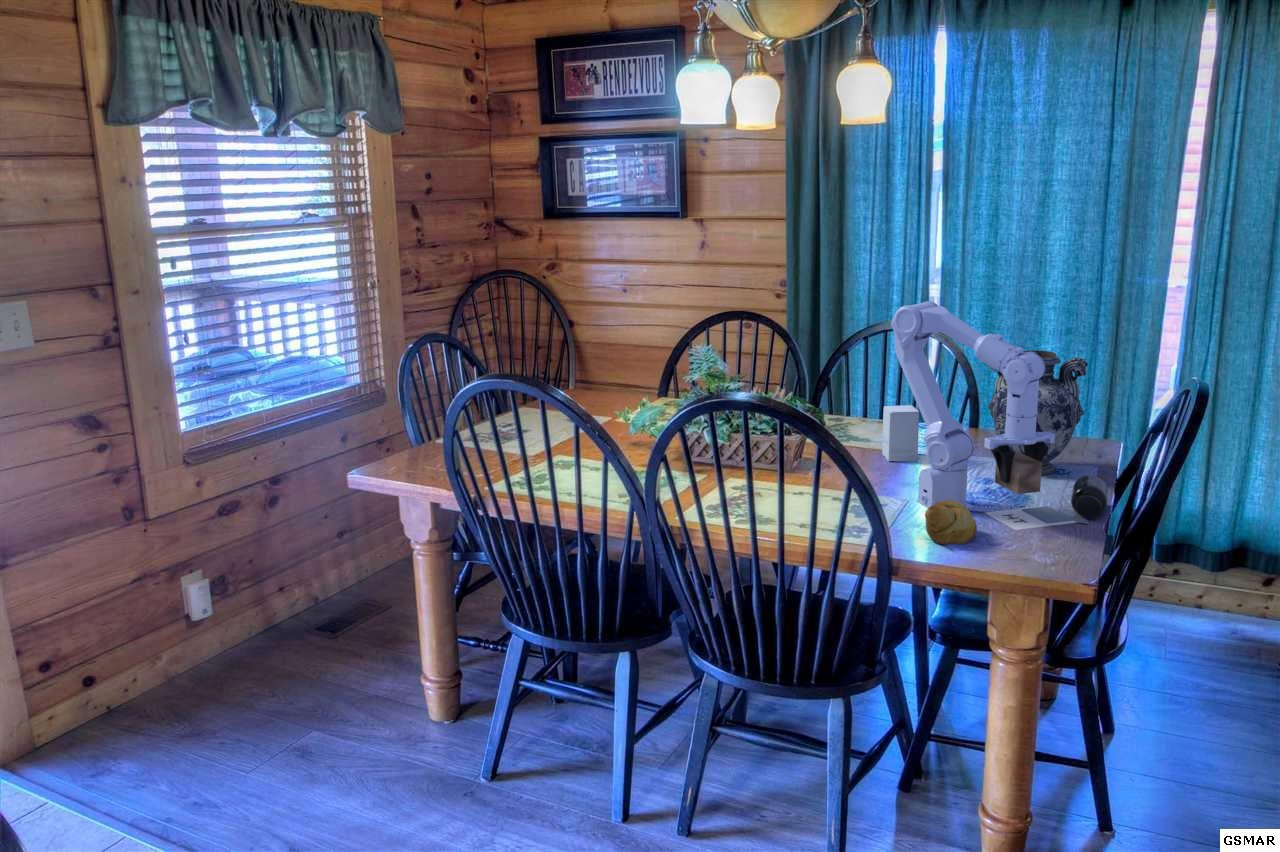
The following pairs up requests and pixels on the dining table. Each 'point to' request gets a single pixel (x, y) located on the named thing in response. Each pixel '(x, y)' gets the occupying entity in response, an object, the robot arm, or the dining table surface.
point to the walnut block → (1022, 475)
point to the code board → (1021, 519)
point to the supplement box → (900, 433)
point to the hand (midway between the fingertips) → (1017, 480)
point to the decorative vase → (1047, 404)
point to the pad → (1047, 514)
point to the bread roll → (950, 523)
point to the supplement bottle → (1089, 496)
